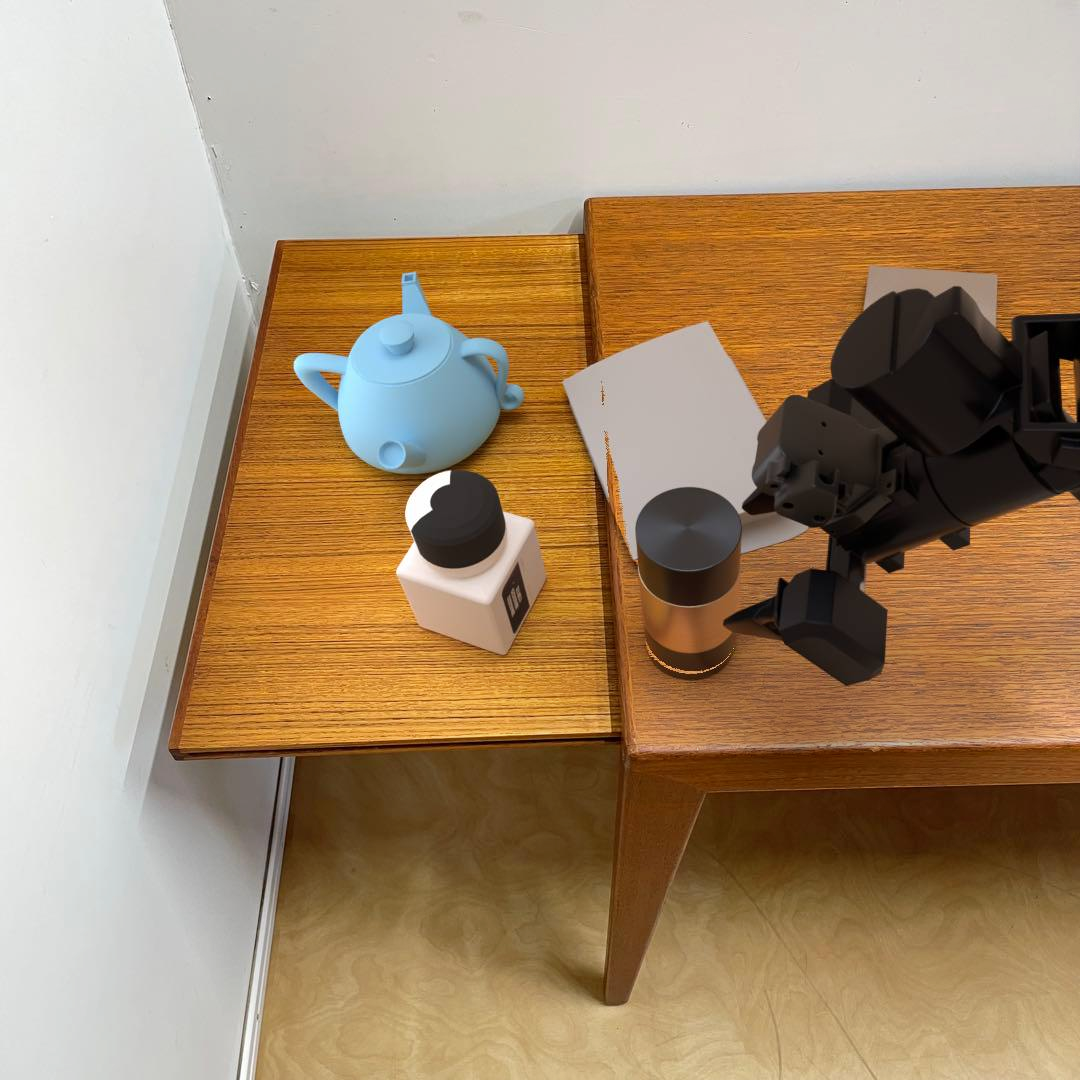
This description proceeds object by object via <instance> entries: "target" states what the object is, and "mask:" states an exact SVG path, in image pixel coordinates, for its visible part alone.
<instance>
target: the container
mask: <svg viewBox="0 0 1080 1080" xmlns="http://www.w3.org/2000/svg"><path fill="white" fill-rule="evenodd" d="M404 514H405V515H404V516H405V522H406V525H407V527H408V530H409V532H410V535H411V538H412V540H413V543H412V544H411V546H410V547H409V549H408V550H407V552H406V554H405V555H404V556H403V558H402V560H401V562H400V564H399V565H398V567H397V568H396V572H395V574H396V577H397V579H398V581H399V583H400V586H401V588H402V590H403V592H404V594H405V597H406V599H407V601H408V603H409V606H410V608H411V610H412V613H413V615H414V618H415V619H416V622H417V623H418V624H417V625H418V626H420V627H421V628H422V629H425V630H428V631H432V632H434V633H437V634H439V635H442V636H446V637H448V638H450V639H451V638H452V639H454V640H457V641H459V642H463V643H466V644H468V645H472V646H474V647H477V648H480V649H483V650H486V651H488V652H492V653H494V654H497V655H500V656H505V655H507V654H508V653H509V651H510V649H511V647H512V645H513V643H514V641H515V639H516V637H517V635H518V634H519V631H520V630H521V628H522V627H523V624H524V622H525V620H526V619H527V617H528V615H529V613H530V611H531V609H532V607H533V605H534V603H535V602H536V599H537V598H538V596H539V595H540V592H541V590H542V588H543V586H544V584H545V582H546V580H547V572H546V569H545V564H544V560H543V556H542V550H541V545H540V542H539V537H538V534H537V529H536V523H535V522H534V520H533V519H531V518H528V517H524V516H521V515H517V514H515V513H510V512H508V511H504V510H503V507H502V503H501V500H500V495H499V492H498V489H497V487H496V486H495V485H494V483H493V482H492V481H491V480H489V478H487V477H485V476H484V475H483V474H481V473H479V472H478V473H477V472H475V471H470V470H465V469H452V470H445V471H441V472H438V473H436V474H434V475H432V476H429V477H428V478H427V479H426V480H424V481H422V482H421V484H419V485H417V488H415V489H414V490H413V492H412V493H411V495H410V496H409V498H408V500H407V502H406V506H405V512H404Z"/></svg>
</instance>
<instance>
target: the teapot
mask: <svg viewBox="0 0 1080 1080" xmlns="http://www.w3.org/2000/svg"><path fill="white" fill-rule="evenodd" d="M400 283H401V293H402V294H401V295H402V296H401V297H402V298H401V299H402V302H401V304H402V306H401V307H402V313H401V314H396V315H391V316H389V317H386V318H384V319H381V320H379V321H378V322H375V323H374V324H372V325H371V326H369V327H368V328H367V329H366V330H365V331H363V332H362V333H361V334H360V336H359V337H358V338H357V339H356V341H355V342H354V344H353V346H352V347H351V350H350V352H349V354H348V356H344V355H338V354H333V353H323V352H307V353H303V354H300V355H298V356H297V357H296V358H295V359H294V361H293V370H294V373H295V374H296V375H295V376H297V378H298V380H299V381H300V382H301V383H302V384H303V385H304V386H305V387H306V388H307V389H308V390H309V391H310V392H311V393H313V394H314V395H315V396H316V397H318V398H319V399H320V400H321V401H323V402H324V403H325V404H327V405H328V406H329V407H331V408H332V409H334V410H335V411H336V412H337V413H338V420H339V426H340V429H341V433H342V436H343V438H344V440H345V442H346V445H347V446H348V447H349V448H350V450H351V451H352V452H353V453H354V454H355V456H357V457H358V458H359V459H360V460H362V462H365V463H366V464H368V465H369V466H372V467H373V468H376V469H378V470H382V471H385V472H389V473H393V474H394V473H395V474H401V475H421V474H431V473H435V472H439V471H442V470H445V469H448V468H451V467H452V466H454V465H457V464H459V463H460V462H462V461H463V460H466V458H468V457H470V456H471V455H472V454H473V453H475V452H476V451H477V450H478V449H479V448H481V446H482V445H483V444H484V443H485V442H486V440H487V439H488V438H489V437H490V436H491V434H492V433H493V431H494V429H495V428H496V426H497V423H498V422H499V417H500V415H501V411H502V410H504V411H513V410H516V409H518V408H519V407H520V406H522V404H523V402H524V400H525V393H524V390H523V388H522V387H521V386H520V385H518V384H514V383H510V384H508V378H509V372H510V370H509V369H510V360H509V356H508V353H507V351H506V349H505V348H504V347H503V345H502V344H500V343H499V342H497V341H495V340H494V339H490V338H486V337H473V338H469V337H468V336H467V335H465V333H463V332H461V330H458V329H457V328H455V327H454V326H453V325H451V324H449V323H448V322H446V321H444V320H442V319H439V318H438V317H435V316H433V313H432V311H431V308H430V305H429V304H428V301H427V298H426V295H425V292H424V291H423V288H422V286H421V282H420V280H419V277H418V274H417V271H411V272H405V273H401V282H400ZM487 357H489V358H491V359H493V360H494V361H495V362H496V364H497V374H496V372H495V370H494V367H493V366H492V364H491V363H490V361H489V359H488V358H487ZM321 372H327V373H336V374H340V375H341V376H340V381H339V383H338V384H339V385H338V390H337V389H336V388H334V386H333V385H332V384H331V383H329V381H327V379H325V377H324V376H323V375H322V374H321Z"/></svg>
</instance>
